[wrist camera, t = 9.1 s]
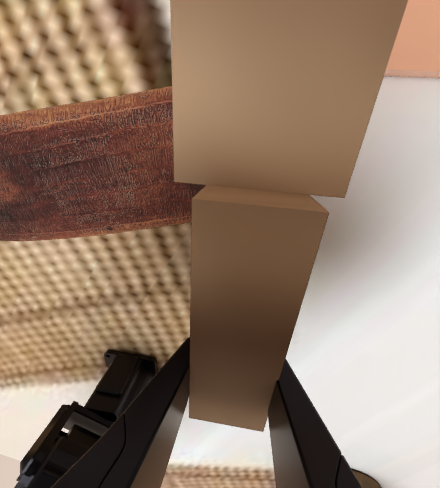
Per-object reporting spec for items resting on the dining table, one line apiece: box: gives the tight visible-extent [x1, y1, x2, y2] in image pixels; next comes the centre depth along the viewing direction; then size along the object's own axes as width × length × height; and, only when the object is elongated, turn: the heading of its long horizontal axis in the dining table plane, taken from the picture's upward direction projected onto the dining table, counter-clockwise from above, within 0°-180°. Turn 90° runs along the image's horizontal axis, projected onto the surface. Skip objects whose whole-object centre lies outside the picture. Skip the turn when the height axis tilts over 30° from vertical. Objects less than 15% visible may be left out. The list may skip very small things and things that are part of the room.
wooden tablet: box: [0, 86, 206, 241], centre depth 17 cm, size 26×2×10 cm
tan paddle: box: [170, 0, 408, 432], centre depth 6 cm, size 17×5×3 cm, turn 176°
